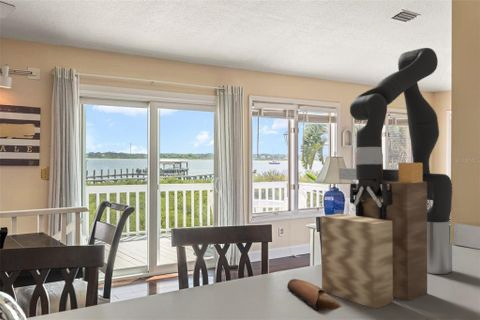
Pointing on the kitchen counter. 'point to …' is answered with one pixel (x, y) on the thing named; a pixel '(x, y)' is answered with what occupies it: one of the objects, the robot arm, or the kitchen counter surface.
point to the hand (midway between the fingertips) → (370, 219)
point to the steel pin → (391, 173)
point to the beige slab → (357, 259)
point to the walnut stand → (406, 237)
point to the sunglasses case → (312, 295)
